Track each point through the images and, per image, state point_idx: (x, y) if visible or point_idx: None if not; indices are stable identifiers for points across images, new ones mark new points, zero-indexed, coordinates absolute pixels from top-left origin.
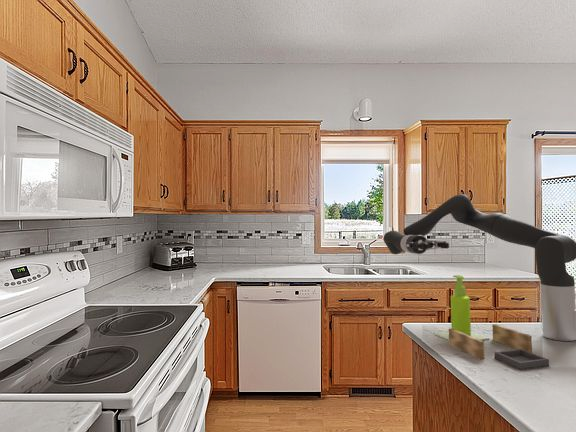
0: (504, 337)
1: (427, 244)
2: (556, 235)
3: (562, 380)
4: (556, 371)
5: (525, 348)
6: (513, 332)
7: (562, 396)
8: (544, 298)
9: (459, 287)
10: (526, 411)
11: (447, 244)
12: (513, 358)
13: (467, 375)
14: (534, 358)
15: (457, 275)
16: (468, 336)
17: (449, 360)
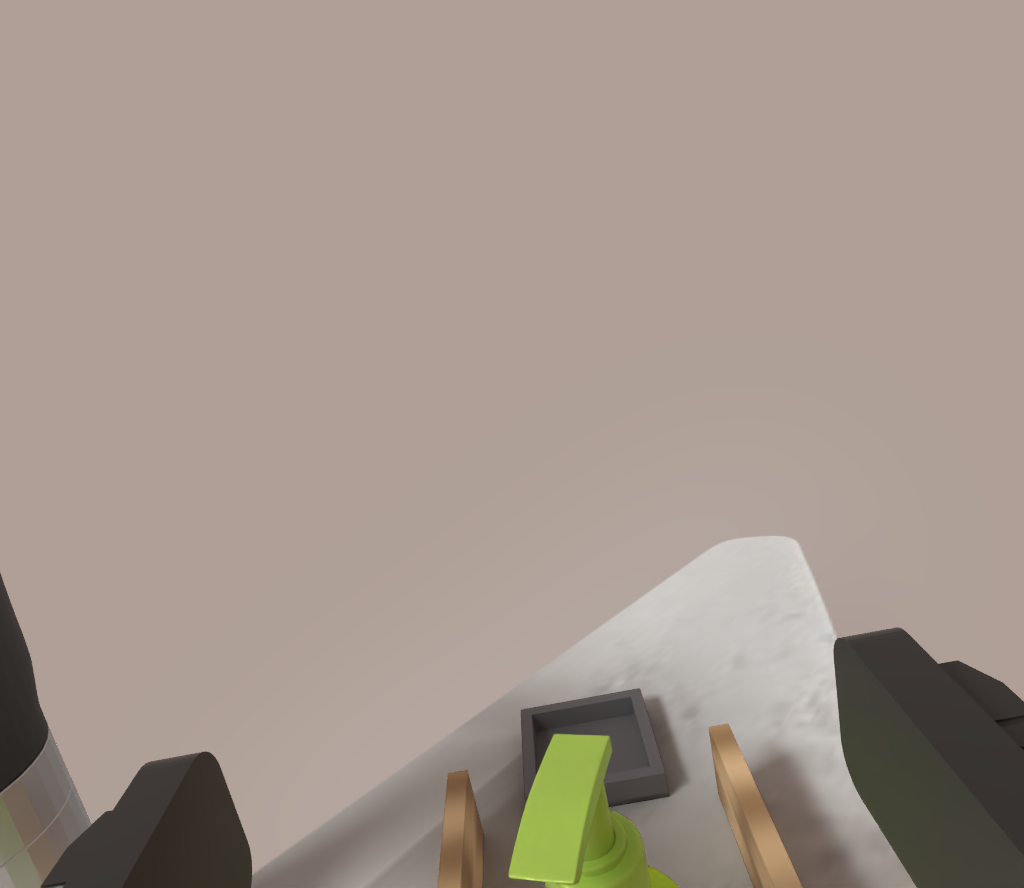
0: None
1: (849, 648)
2: None
3: (577, 659)
4: (539, 701)
5: (479, 833)
6: (464, 841)
7: (650, 604)
8: (57, 852)
9: (617, 815)
10: (774, 563)
11: (210, 783)
12: None
13: None
14: (535, 752)
15: (561, 799)
16: (751, 781)
17: None
